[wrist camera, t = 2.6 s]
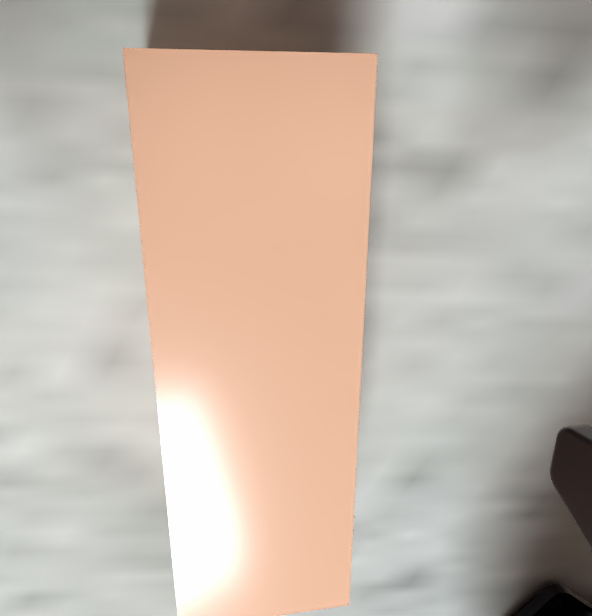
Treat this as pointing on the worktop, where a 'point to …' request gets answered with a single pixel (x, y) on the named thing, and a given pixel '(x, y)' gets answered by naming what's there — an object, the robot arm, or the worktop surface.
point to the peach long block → (255, 313)
